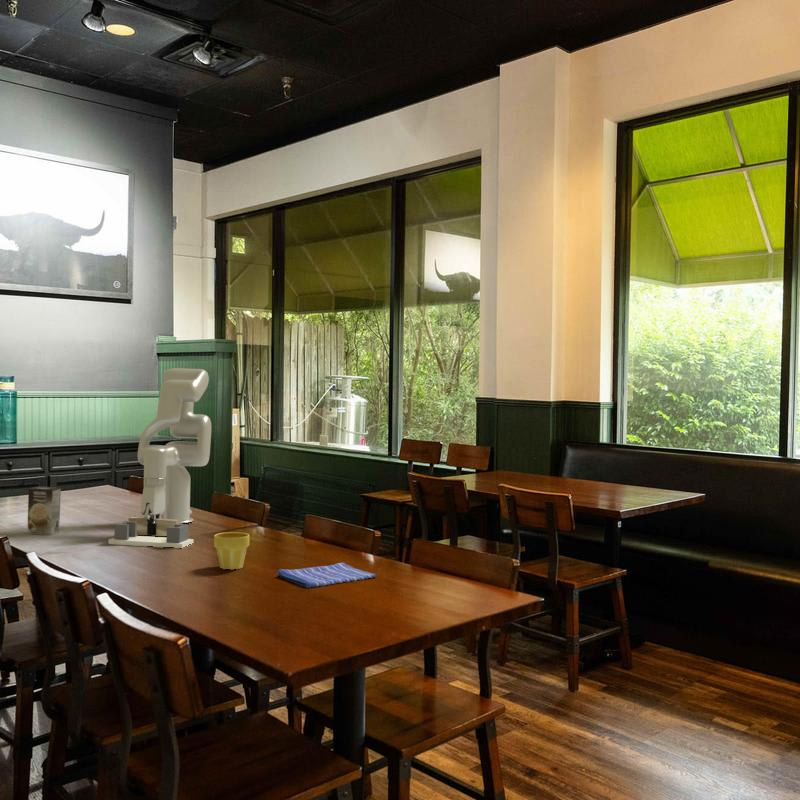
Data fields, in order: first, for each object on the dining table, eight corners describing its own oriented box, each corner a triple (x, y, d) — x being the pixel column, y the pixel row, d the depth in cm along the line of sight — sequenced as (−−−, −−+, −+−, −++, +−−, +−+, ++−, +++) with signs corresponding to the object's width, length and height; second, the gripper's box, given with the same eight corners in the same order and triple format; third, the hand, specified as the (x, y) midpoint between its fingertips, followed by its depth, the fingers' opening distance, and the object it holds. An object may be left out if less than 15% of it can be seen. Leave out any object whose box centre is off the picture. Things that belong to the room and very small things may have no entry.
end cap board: (121, 539, 277) (122, 520, 277) (193, 543, 273) (193, 524, 273) (108, 544, 268) (108, 524, 268) (182, 548, 264) (182, 528, 264)
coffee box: (26, 534, 282) (27, 488, 282) (36, 530, 288) (37, 486, 288) (51, 535, 281) (52, 489, 281) (60, 532, 287) (61, 487, 287)
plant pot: (211, 564, 243) (212, 532, 242) (246, 563, 246) (247, 531, 246) (214, 572, 233) (215, 538, 233) (250, 570, 236) (251, 537, 236)
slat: (131, 533, 288) (131, 517, 288) (179, 536, 285) (179, 519, 285) (128, 535, 286) (128, 518, 286) (176, 537, 283) (176, 520, 283)
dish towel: (274, 578, 230) (274, 568, 230) (342, 568, 245) (343, 559, 245) (306, 591, 217) (307, 580, 216) (377, 579, 231) (377, 570, 231)
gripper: (155, 479, 294) (153, 529, 294) (134, 484, 278) (132, 537, 278) (174, 480, 293) (173, 530, 293) (154, 485, 277) (153, 538, 277)
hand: (153, 533), depth 286 cm, fingers closed on slat, 2 cm apart
